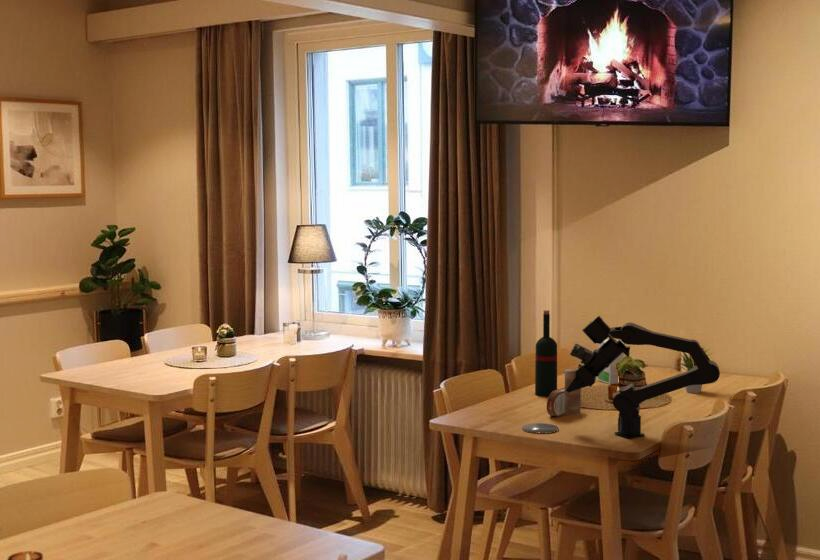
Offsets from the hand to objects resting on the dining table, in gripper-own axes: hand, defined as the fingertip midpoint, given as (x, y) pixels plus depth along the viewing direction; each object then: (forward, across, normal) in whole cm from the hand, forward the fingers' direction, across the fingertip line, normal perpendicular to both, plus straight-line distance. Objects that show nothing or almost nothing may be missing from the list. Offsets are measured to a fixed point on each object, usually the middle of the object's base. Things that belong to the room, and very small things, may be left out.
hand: (567, 389), depth 312 cm
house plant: (-18, -67, +37) cm, 79 cm away
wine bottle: (+18, -52, +1) cm, 55 cm away
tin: (+12, -23, +7) cm, 27 cm away
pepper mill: (+4, 0, +6) cm, 7 cm away
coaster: (+15, -1, +3) cm, 16 cm away
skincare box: (+4, -78, +15) cm, 80 cm away
